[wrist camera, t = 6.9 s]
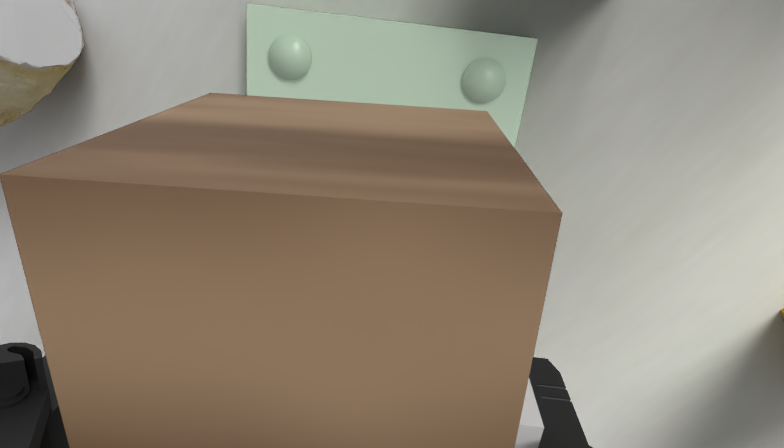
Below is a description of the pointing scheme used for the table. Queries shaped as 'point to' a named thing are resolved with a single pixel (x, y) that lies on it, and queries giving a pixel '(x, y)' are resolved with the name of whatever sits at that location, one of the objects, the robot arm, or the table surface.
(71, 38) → the coral
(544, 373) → the robot arm
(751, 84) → the table surface
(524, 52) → the baseplate
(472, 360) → the walnut brick
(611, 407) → the table surface
